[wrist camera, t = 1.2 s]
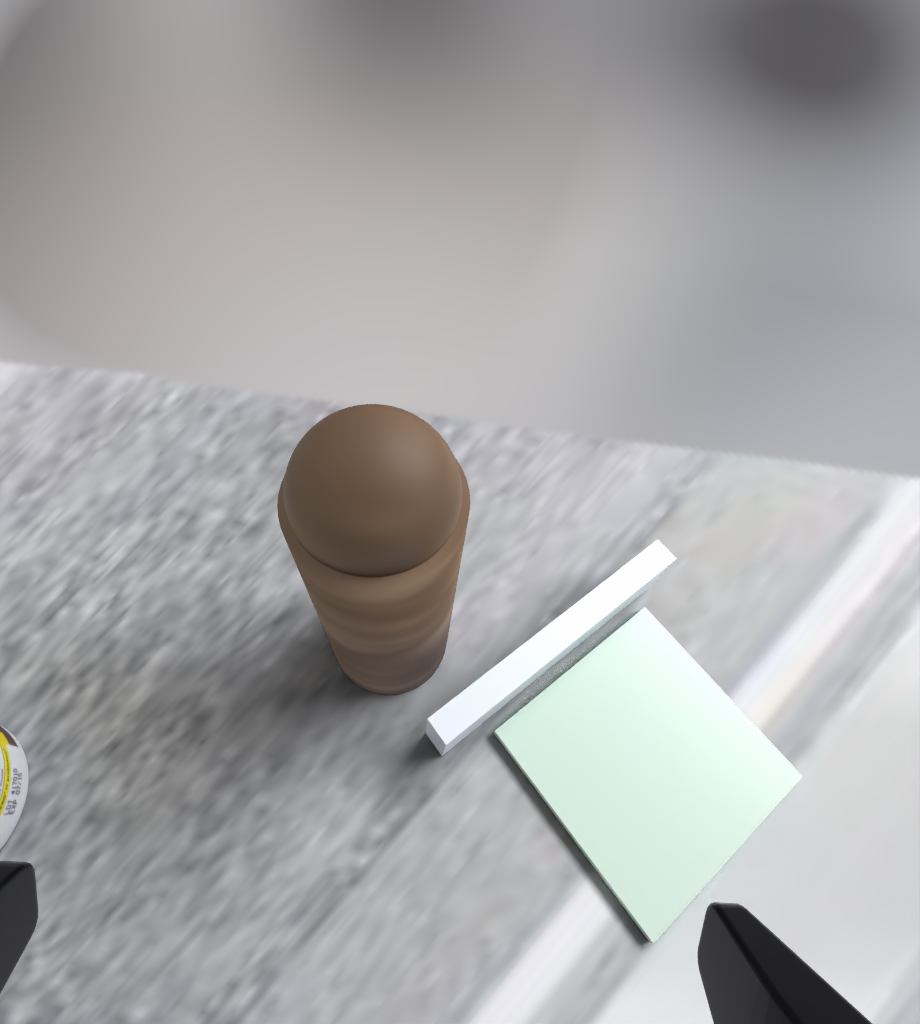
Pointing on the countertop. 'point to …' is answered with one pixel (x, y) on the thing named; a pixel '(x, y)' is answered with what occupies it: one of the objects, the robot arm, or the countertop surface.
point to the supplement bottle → (11, 783)
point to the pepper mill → (378, 540)
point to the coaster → (648, 768)
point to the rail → (545, 649)
